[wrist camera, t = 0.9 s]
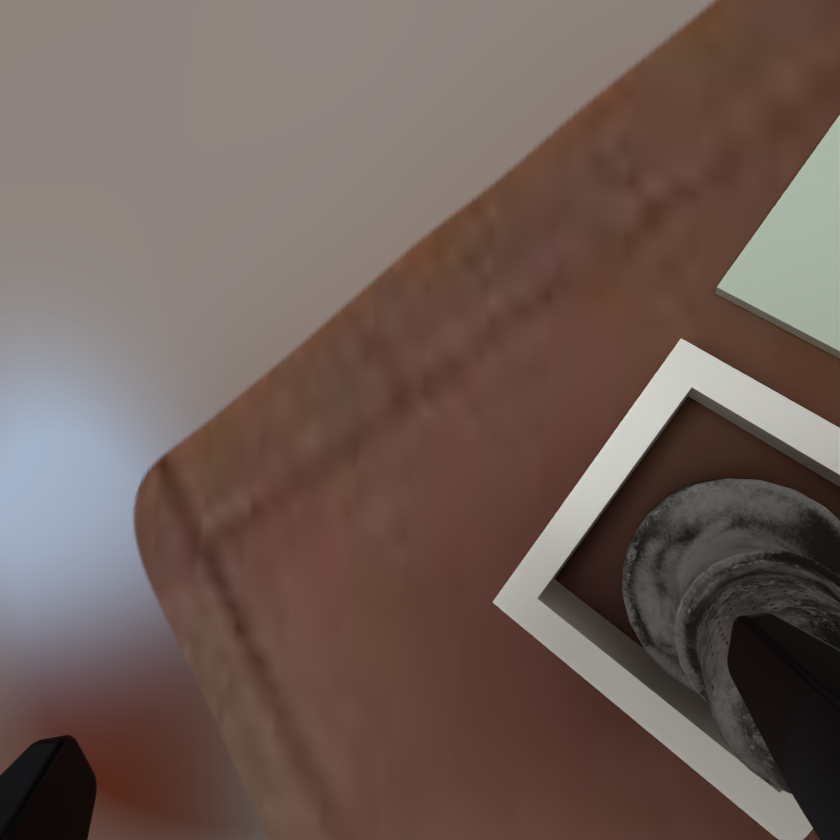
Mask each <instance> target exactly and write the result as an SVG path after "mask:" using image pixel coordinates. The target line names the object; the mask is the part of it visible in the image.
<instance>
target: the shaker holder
mask: <svg viewBox="0 0 840 840" xmlns="http://www.w3.org/2000/svg"><path fill="white" fill-rule="evenodd" d="M687 397H690V398H692V399H693V400H695V401H697V402H698V403H700V404H702V405H703V406H705V407H707V408H708V409H710V410H712V411H713V412H715V413H717V414H718V415H720V416H722V417H723V418H725V419H727V420H728V421H730V422H732V423H733V424H735V425H737V426H738V427H740V428H742V429H743V430H745V431H747V432H748V433H750V434H752V435H753V436H755V437H757V438H758V439H760V440H762V441H763V442H765V443H767V444H768V445H770V446H772V447H773V448H775V449H777V450H778V451H780V452H782V453H783V454H785V455H787V456H788V457H790V458H792V459H793V460H795V461H797V462H798V463H800V464H802V465H803V466H805V467H807V468H808V469H810V470H812V471H813V472H815V473H817V474H818V475H820V476H822V477H823V478H825V479H827V480H828V481H830V482H832V483H833V484H835V485H837V486H838V487H840V428H839V427H837V426H835V425H833V424H832V423H830V422H828V421H826V420H825V419H823V418H821V417H819V416H818V415H816V414H814V413H812V412H810V411H809V410H807V409H805V408H803V407H802V406H800V405H798V404H796V403H795V402H793V401H791V400H789V399H787V398H786V397H784V396H782V395H780V394H779V393H777V392H775V391H773V390H772V389H770V388H768V387H766V386H764V385H763V384H761V383H759V382H757V381H756V380H754V379H752V378H750V377H749V376H747V375H745V374H743V373H742V372H740V371H738V370H736V369H734V368H733V367H731V366H729V365H727V364H726V363H724V362H722V361H720V360H719V359H717V358H715V357H713V356H711V355H710V354H708V353H706V352H704V351H703V350H701V349H699V348H697V347H696V346H694V345H692V344H690V343H688V342H687V341H685V340H683V339H680V340H679V342H678V343H677V345H676V346H675V347H674V349H673V350H672V352H671V353H670V354H669V356H668V357H667V359H666V360H665V361H664V363H663V364H662V366H661V367H660V368H659V370H658V371H657V373H656V374H655V375H654V377H653V378H652V380H651V381H650V382H649V384H648V385H647V387H646V388H645V389H644V391H643V392H642V394H641V395H640V396H639V398H638V399H637V401H636V402H635V403H634V405H633V406H632V408H631V409H630V410H629V412H628V413H627V415H626V416H625V417H624V419H623V420H622V422H621V423H620V424H619V426H618V427H617V429H616V430H615V431H614V433H613V434H612V436H611V437H610V438H609V440H608V441H607V443H606V444H605V445H604V447H603V448H602V450H601V451H600V452H599V454H598V455H597V457H596V458H595V459H594V461H593V462H592V464H591V465H590V466H589V468H588V469H587V471H586V472H585V473H584V475H583V476H582V478H581V479H580V480H579V482H578V483H577V485H576V486H575V487H574V489H573V490H572V492H571V493H570V494H569V496H568V497H567V499H566V500H565V501H564V503H563V504H562V506H561V507H560V508H559V510H558V511H557V513H556V514H555V515H554V517H553V518H552V520H551V521H550V522H549V524H548V525H547V527H546V528H545V529H544V531H543V532H542V534H541V535H540V536H539V538H538V539H537V541H536V542H535V543H534V545H533V546H532V548H531V549H530V550H529V552H528V553H527V555H526V556H525V557H524V559H523V560H522V562H521V563H520V564H519V566H518V567H517V569H516V570H515V571H514V573H513V574H512V576H511V577H510V578H509V580H508V581H507V583H506V584H505V585H504V587H503V588H502V590H501V591H500V592H499V594H498V595H497V597H496V598H495V599H494V601H493V603H494V604H495V605H496V606H497V607H499V608H500V609H501V610H502V611H503V612H505V613H506V614H507V615H508V616H509V617H511V618H512V619H513V620H514V621H516V622H517V623H518V624H519V625H520V626H522V627H523V628H524V629H525V630H526V631H528V632H529V633H530V634H531V635H532V636H534V637H535V638H536V639H537V640H538V641H540V642H541V643H542V644H543V645H544V646H546V647H547V648H548V649H549V650H550V651H552V652H553V653H554V654H555V655H556V656H558V657H559V658H560V659H561V660H562V661H564V662H565V663H566V664H567V665H568V666H570V667H571V668H572V669H573V670H575V671H576V672H577V673H578V674H579V675H581V676H582V677H583V678H584V679H585V680H587V681H588V682H589V683H590V684H591V685H593V686H594V687H595V688H596V689H597V690H599V691H600V692H601V693H602V694H603V695H605V696H606V697H607V698H608V699H609V700H611V701H612V702H613V703H614V704H615V705H617V706H618V707H619V708H620V709H621V710H623V711H624V712H625V713H626V714H628V715H629V716H630V717H631V718H632V719H634V720H635V721H636V722H637V723H638V724H640V725H641V726H642V727H643V728H644V729H646V730H647V731H648V732H649V733H650V734H652V735H653V736H654V737H655V738H656V739H658V740H659V741H660V742H661V743H662V744H664V745H665V746H666V747H667V748H668V749H670V750H671V751H672V752H673V753H674V754H676V755H677V756H678V757H679V758H680V759H682V760H683V761H684V762H685V763H687V764H688V765H689V766H690V767H691V768H693V769H694V770H695V771H696V772H697V773H699V774H700V775H701V776H702V777H703V778H705V779H706V780H707V781H708V782H709V783H711V784H712V785H713V786H714V787H715V788H717V789H718V790H719V791H720V792H721V793H723V794H724V795H725V796H726V797H727V798H729V799H730V800H731V801H732V802H733V803H735V804H736V805H737V806H738V807H739V808H741V809H742V810H743V811H744V812H746V813H747V814H748V815H749V816H750V817H752V818H753V819H754V820H755V821H756V822H758V823H759V824H760V825H761V826H762V827H764V828H765V829H766V830H767V831H768V832H770V833H771V834H772V835H773V836H774V837H776V838H777V839H778V840H803V839H804V838H805V837H806V836H807V835H808V834H809V833H810V832H811V831H812V830H813V827H812V826H811V824H810V823H809V821H808V820H807V818H806V816H805V815H804V813H803V812H802V810H801V808H800V807H799V805H798V803H797V802H796V800H795V798H794V797H793V795H792V794H790V793H788V792H785V791H783V790H781V789H779V788H776V787H774V786H772V785H770V784H768V783H767V782H766V781H764V780H763V779H761V778H760V777H759V776H757V775H756V774H755V773H753V772H752V771H750V770H749V769H748V768H747V767H746V766H745V765H744V763H743V762H742V761H741V760H740V759H739V758H738V757H737V756H736V754H735V753H734V752H733V751H732V750H731V749H730V748H729V746H728V745H727V744H726V743H725V741H724V739H723V737H722V735H721V734H720V732H719V730H718V728H717V726H716V724H715V722H714V721H713V717H712V713H711V709H710V705H708V703H707V702H706V701H705V700H704V699H703V698H702V697H701V696H700V695H699V693H697V692H694V691H692V690H690V689H689V688H688V687H686V686H685V685H683V684H682V683H680V682H679V681H678V680H676V679H675V678H673V677H672V676H670V675H669V674H667V673H666V672H665V671H664V670H663V669H662V668H661V667H660V666H659V665H658V663H657V662H656V661H655V660H654V659H653V658H652V657H651V656H650V655H649V654H648V652H647V651H646V650H645V649H644V648H642V647H641V646H640V645H638V644H637V643H636V642H635V641H633V640H632V639H631V638H629V637H628V636H627V635H626V634H624V633H623V632H622V631H620V630H619V629H618V628H617V627H615V626H614V625H613V624H611V623H610V622H609V621H608V620H606V619H605V618H604V617H602V616H601V615H600V614H599V613H597V612H596V611H595V610H593V609H592V608H591V607H590V606H588V605H587V604H586V603H585V602H583V601H582V600H581V599H579V598H578V597H577V596H576V595H574V594H573V593H572V592H570V591H569V590H568V589H567V588H565V587H564V586H563V585H561V584H560V583H559V582H558V581H556V580H555V578H556V577H557V575H558V574H559V573H560V571H561V570H562V568H563V567H564V566H565V564H566V563H567V562H568V560H569V559H570V558H571V556H572V555H573V553H574V552H575V551H576V549H577V548H578V547H579V545H580V544H581V542H582V541H583V540H584V538H585V537H586V536H587V534H588V533H589V532H590V530H591V529H592V527H593V526H594V525H595V523H596V522H597V521H598V519H599V518H600V516H601V515H602V514H603V512H604V511H605V510H606V508H607V507H608V506H609V504H610V503H611V501H612V500H613V499H614V497H615V496H616V495H617V493H618V492H619V490H620V489H621V488H622V486H623V485H624V484H625V482H626V481H627V480H628V478H629V477H630V475H631V474H632V473H633V471H634V470H635V469H636V467H637V466H638V465H639V463H640V462H641V460H642V459H643V458H644V456H645V455H646V454H647V452H648V451H649V449H650V448H651V447H652V445H653V444H654V443H655V441H656V440H657V439H658V437H659V436H660V434H661V433H662V432H663V430H664V429H665V428H666V426H667V425H668V423H669V422H670V421H671V419H672V418H673V417H674V415H675V414H676V413H677V411H678V410H679V408H680V407H681V406H682V404H683V403H684V402H685V400H686V399H687Z"/></svg>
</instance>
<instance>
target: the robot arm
mask: <svg viewBox="0 0 840 840" xmlns="http://www.w3.org/2000/svg"><path fill="white" fill-rule="evenodd" d="M727 665H728V670H729V673H730V676H731V678H732V680H733V682H734V684H735V686H736V688H737V690H738V692H739V694H740V695H741V697H742V699H743V701H744V703H745V705H746V707H747V709H748V711H749V713H750V715H751V717H752V719H753V721H754V723H755V725H756V727H757V729H758V731H759V733H760V734H761V736H762V738H763V740H764V742H765V744H766V746H767V748H768V750H769V752H770V754H771V756H772V758H773V760H774V762H775V764H776V766H777V768H778V770H779V772H780V773H781V775H782V777H783V779H784V781H785V783H786V784H787V786H788V788H789V790H790V792H791V793H792V795H793V797H794V798H795V800H796V802H797V803H798V805H799V807H800V808H801V810H802V812H803V813H804V815H805V816H806V818H807V820H808V821H809V823H810V824H811V826H812V827H813V829H814V831H815V832H816V834H817V835H818V837H819V838H820V840H840V650H839V649H837V648H835V647H834V646H832V645H830V644H828V643H826V642H824V641H823V640H821V639H819V638H817V637H815V636H813V635H812V634H810V633H808V632H806V631H804V630H802V629H800V628H799V627H797V626H795V625H793V624H791V623H789V622H788V621H786V620H784V619H782V618H780V617H778V616H777V615H775V614H773V613H770V612H767V611H757V612H752V613H746V614H741V615H738V616H736V618H735V619H734V620H733V623H732V629H731V636H730V642H729V648H728V654H727ZM96 790H97V785H96V778H95V774H94V772H93V770H92V768H91V766H90V764H89V762H88V761H87V759H86V757H85V755H84V753H83V751H82V749H81V747H80V746H79V744H78V742H77V740H76V739H75V738H74V737H72V736H70V735H62V736H57V737H51V738H46V739H41V740H38V741H36V742H34V743H33V744H32V745H30V746H29V747H28V748H27V749H26V750H25V751H24V752H23V753H22V754H21V755H20V756H19V757H18V758H17V759H16V760H15V761H14V762H13V763H12V764H11V765H10V766H9V767H8V768H7V769H6V770H5V771H4V772H3V773H2V774H1V775H0V840H87V839H88V834H89V829H90V824H91V819H92V814H93V808H94V803H95V798H96Z"/></svg>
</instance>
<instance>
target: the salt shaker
mask: <svg viewBox="0 0 840 840" xmlns="http://www.w3.org/2000/svg"><path fill="white" fill-rule="evenodd" d="M622 595H623V599H624V602H625V606H626V610H627V614H628V618H629V622H630V624H631V626H632V628H633V629H634V631H635V633H636V635H637V637H638V639H639V640H640V642H641V644H642V646H643V648H644V649H645V650H646V651H647V652H648V654H649V655H650V656H651V657H652V658H653V659H654V660H655V661H656V662H657V663H658V665H659V666H660V667H661V668H662V669H663V670H664V671H665V672H666V673H667V674H669V675H670V676H672V677H673V678H675V679H676V680H678V681H679V682H680V683H682V684H683V685H685V686H686V687H688V688H689V689H690V690H692V691H694V692H697V693H699V695H700V696H701V697H702V698H703V699H704V700H705V701H706V702H707V703H708V705H710V709H711V713H712V717H713V721H714V722H715V724H716V726H717V728H718V730H719V732H720V734H721V735H722V737H723V739H724V741H725V743H726V744H727V745H728V746H729V748H730V749H731V750H732V751H733V752H734V753H735V754H736V756H737V757H738V758H739V759H740V760H741V761H742V762H743V763H744V765H745V766H746V767H747V768H748V769H749V770H750V771H752V772H753V773H755V774H756V775H757V776H759V777H760V778H761V779H763V780H764V781H766V782H767V783H768V784H770V785H772V786H774V787H776V788H779V789H781V790H783V791H785V792H788V793H790V794H792V793H791V792H790V790H789V788H788V786H787V784H786V783H785V781H784V779H783V777H782V775H781V773H780V772H779V770H778V768H777V766H776V764H775V762H774V760H773V758H772V756H771V754H770V752H769V750H768V748H767V746H766V744H765V742H764V740H763V738H762V736H761V734H760V733H759V731H758V729H757V727H756V725H755V723H754V721H753V719H752V717H751V715H750V713H749V711H748V709H747V707H746V705H745V703H744V701H743V699H742V697H741V695H740V694H739V692H738V690H737V688H736V686H735V684H734V682H733V680H732V678H731V676H730V673H729V670H728V665H727V654H728V648H729V642H730V636H731V629H732V623H733V620H734V619H735V618H736V616H738V615H741V614H746V613H752V612H757V611H767V612H770V613H773V614H775V615H777V616H778V617H780V618H782V619H784V620H786V621H788V622H789V623H791V624H793V625H795V626H797V627H799V628H800V629H802V630H804V631H806V632H808V633H810V634H812V635H813V636H815V637H817V638H819V639H821V640H823V641H824V642H826V643H828V644H830V645H832V646H834V647H835V648H837V649H839V650H840V520H839V519H838V518H837V517H836V516H835V515H833V514H832V513H831V512H830V511H829V510H828V509H827V508H826V507H825V506H823V505H821V504H819V503H818V502H816V501H814V500H812V499H810V498H809V497H807V496H805V495H803V494H801V493H800V492H798V491H796V490H794V489H791V488H787V487H784V486H780V485H777V484H773V483H770V482H766V481H763V480H754V479H733V478H725V479H720V480H717V479H713V480H708V481H703V482H698V483H693V484H689V485H687V486H685V487H683V488H681V489H679V490H677V491H675V492H672V493H670V494H669V495H668V496H667V497H666V498H664V499H663V500H662V501H661V502H660V503H659V504H657V505H656V506H655V507H654V508H653V510H652V511H651V512H650V513H649V514H648V515H647V516H646V517H645V519H644V520H643V522H642V523H641V525H640V526H639V528H638V529H637V531H636V532H635V534H634V535H633V537H632V538H631V541H630V544H629V547H628V551H627V554H626V557H625V560H624V563H623V585H622Z"/></svg>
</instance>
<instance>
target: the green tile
mask: <svg viewBox="0 0 840 840" xmlns="http://www.w3.org/2000/svg"><path fill="white" fill-rule="evenodd" d="M715 294H717V295H719V296H721V297H723V298H725V299H727V300H729V301H730V302H732V303H734V304H736V305H738V306H740V307H742V308H744V309H746V310H748V311H749V312H751V313H753V314H755V315H757V316H759V317H761V318H763V319H765V320H767V321H768V322H770V323H772V324H774V325H776V326H778V327H780V328H782V329H784V330H786V331H787V332H789V333H791V334H793V335H795V336H797V337H799V338H801V339H803V340H805V341H806V342H808V343H810V344H812V345H814V346H816V347H818V348H820V349H822V350H824V351H825V352H827V353H829V354H831V355H833V356H835V357H837V358H839V359H840V115H839V117H838V118H837V119H836V121H835V122H834V124H833V125H832V126H831V128H830V129H829V131H828V132H827V133H826V135H825V136H824V138H823V139H822V141H821V142H820V143H819V145H818V146H817V148H816V149H815V150H814V152H813V153H812V155H811V156H810V157H809V159H808V160H807V162H806V163H805V164H804V166H803V167H802V169H801V170H800V171H799V173H798V174H797V176H796V177H795V178H794V180H793V181H792V183H791V184H790V185H789V187H788V188H787V190H786V191H785V192H784V194H783V195H782V197H781V198H780V199H779V201H778V202H777V204H776V205H775V206H774V208H773V209H772V211H771V212H770V213H769V215H768V216H767V218H766V219H765V220H764V222H763V223H762V225H761V226H760V227H759V229H758V230H757V232H756V233H755V234H754V236H753V237H752V239H751V240H750V241H749V243H748V244H747V246H746V247H745V248H744V250H743V251H742V253H741V254H740V255H739V257H738V258H737V260H736V261H735V262H734V264H733V265H732V267H731V268H730V269H729V271H728V272H727V274H726V275H725V276H724V278H723V279H722V281H721V282H720V283H719V285H718V286H717V288H716V292H715Z"/></svg>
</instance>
